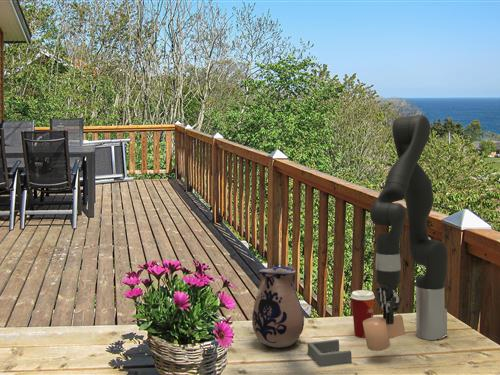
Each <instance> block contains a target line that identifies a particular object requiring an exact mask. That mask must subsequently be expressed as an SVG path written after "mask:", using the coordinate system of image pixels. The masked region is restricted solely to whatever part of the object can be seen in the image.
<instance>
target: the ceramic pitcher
mask: <svg viewBox="0 0 500 375" xmlns="http://www.w3.org/2000/svg"><path fill="white" fill-rule="evenodd" d="M257 272H258V273H259V277H260V282H259V286H258V290H257V293H256V296H255V297H256V298H255V301H254V304H253V310H252V316H251V318H252V319H251V322H252V324H251V325H252V329H253V332H254V335H255V336H256V337H257V339H258V340H259V341H260V342H261V343H262V344H264V345H266V346H267V347H270V348H277V349H278V348H281V349H282V348H288V347H290V346H292V345H293V344H294V343H296V342H297V341H298V340H299V338H300V336H301V335H302V333H303V330H304V327H305V317H304V312H303V308H302V304H301V302H300V299H299V297H298V293H297V291H296V290H297V274H296V273H297V271H296V269H295V268H294V266H292V265H285V266H270V267H265V268H261V269H259V270H258V271H257Z"/></svg>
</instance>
